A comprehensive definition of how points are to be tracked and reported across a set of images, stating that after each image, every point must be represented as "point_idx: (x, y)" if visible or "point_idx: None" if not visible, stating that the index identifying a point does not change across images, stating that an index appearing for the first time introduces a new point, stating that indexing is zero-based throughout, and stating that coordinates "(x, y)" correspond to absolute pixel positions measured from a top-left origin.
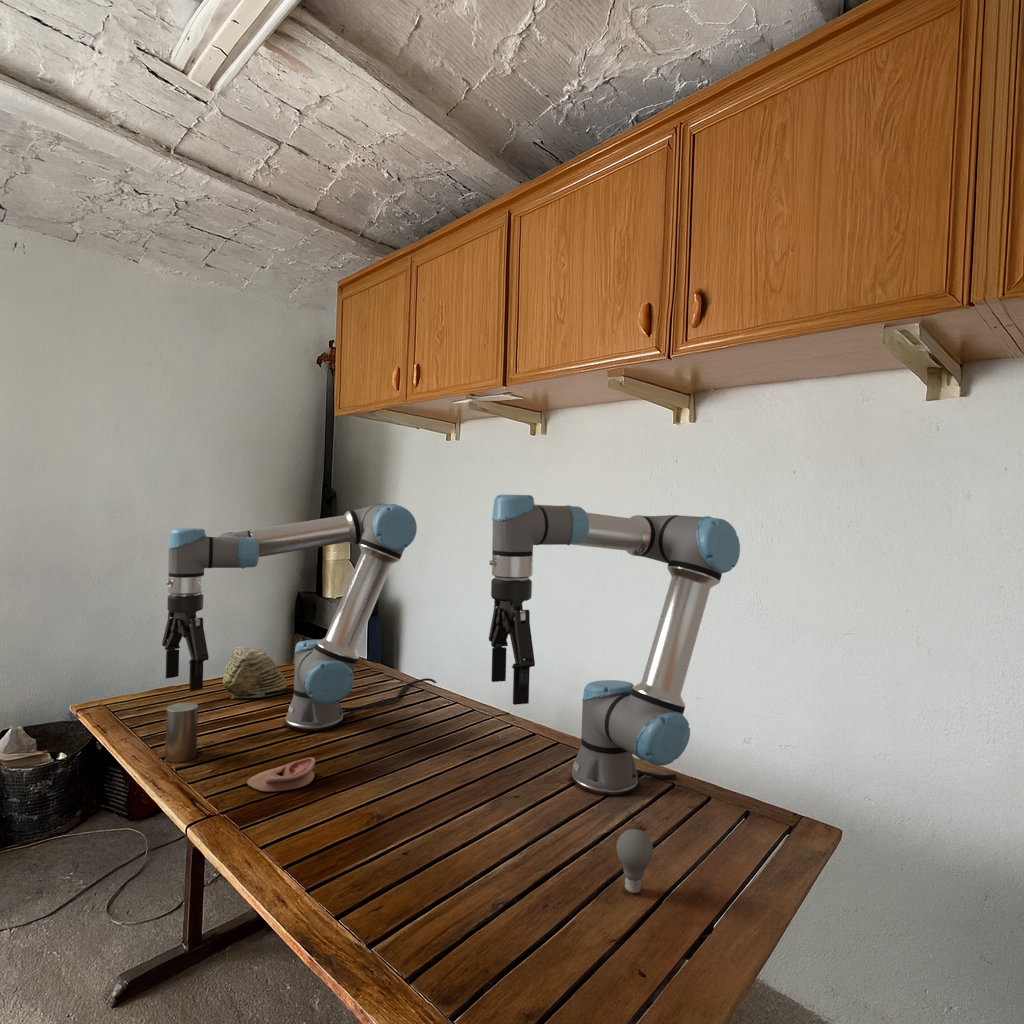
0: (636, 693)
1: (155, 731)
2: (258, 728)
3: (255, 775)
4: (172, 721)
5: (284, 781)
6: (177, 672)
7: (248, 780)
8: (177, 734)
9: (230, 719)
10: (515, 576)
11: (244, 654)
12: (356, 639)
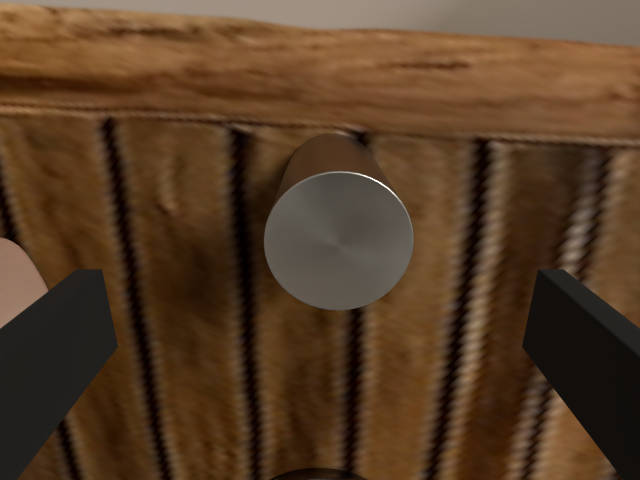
0: None
1: (617, 206)
2: (388, 421)
3: (10, 269)
4: (300, 170)
5: None
6: (539, 359)
7: (2, 245)
8: (286, 174)
9: (519, 401)
10: None
11: None
12: None
